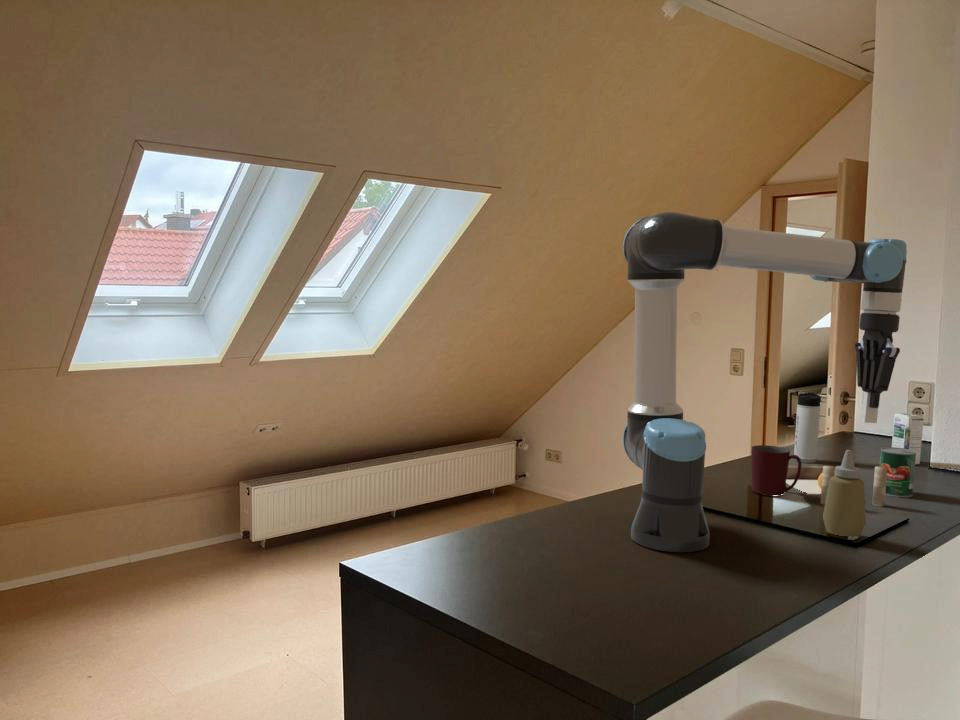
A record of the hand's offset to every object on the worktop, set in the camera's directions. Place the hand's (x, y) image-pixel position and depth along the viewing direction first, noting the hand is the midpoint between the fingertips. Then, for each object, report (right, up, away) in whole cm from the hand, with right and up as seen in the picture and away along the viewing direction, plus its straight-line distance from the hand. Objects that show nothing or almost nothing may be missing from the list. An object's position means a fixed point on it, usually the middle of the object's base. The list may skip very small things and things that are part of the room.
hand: (868, 422), depth 171 cm
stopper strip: (+3, -18, +42) cm, 46 cm away
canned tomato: (+21, -20, +29) cm, 41 cm away
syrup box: (+42, -17, +65) cm, 79 cm away
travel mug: (+12, -17, +64) cm, 67 cm away
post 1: (-2, -21, +16) cm, 26 cm away
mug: (-11, -20, +25) cm, 34 cm away
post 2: (+11, -21, +17) cm, 29 cm away
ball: (+4, -17, +27) cm, 32 cm away
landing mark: (+3, -19, +32) cm, 38 cm away
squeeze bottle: (-9, -23, -8) cm, 26 cm away
